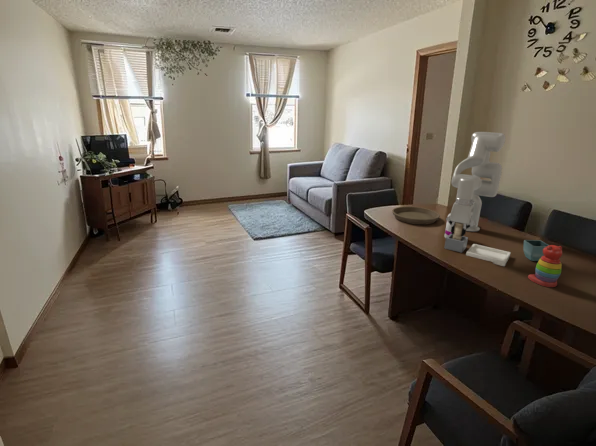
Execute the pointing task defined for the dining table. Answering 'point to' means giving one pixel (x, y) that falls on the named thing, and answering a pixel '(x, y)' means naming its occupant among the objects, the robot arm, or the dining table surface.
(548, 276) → the stacking bear
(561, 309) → the dining table surface
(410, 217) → the plant saucer
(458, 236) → the birch peg
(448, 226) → the supplement can
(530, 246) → the flower pot
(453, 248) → the grey open box
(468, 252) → the white tray
